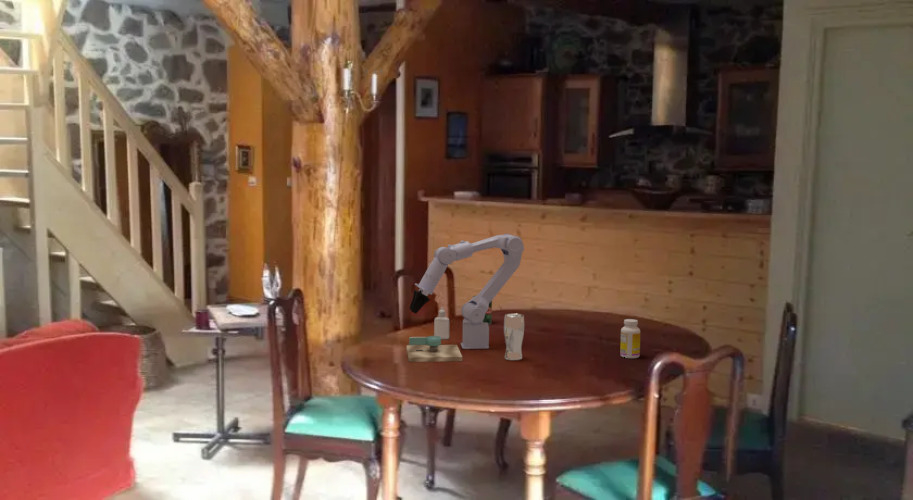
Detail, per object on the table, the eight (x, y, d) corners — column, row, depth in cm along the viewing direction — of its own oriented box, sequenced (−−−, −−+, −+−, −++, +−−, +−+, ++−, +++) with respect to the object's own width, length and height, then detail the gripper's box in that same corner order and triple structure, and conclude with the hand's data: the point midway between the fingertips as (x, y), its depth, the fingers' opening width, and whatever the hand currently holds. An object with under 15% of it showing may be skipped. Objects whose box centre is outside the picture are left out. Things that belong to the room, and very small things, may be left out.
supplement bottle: (640, 355, 306) (642, 319, 304) (638, 359, 300) (639, 322, 298) (621, 353, 308) (622, 317, 307) (618, 357, 302) (619, 321, 300)
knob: (440, 342, 305) (440, 335, 305) (441, 346, 300) (441, 338, 300) (408, 343, 304) (408, 335, 304) (409, 346, 299) (409, 338, 299)
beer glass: (509, 361, 295) (510, 317, 293) (499, 357, 301) (500, 314, 299) (527, 359, 298) (528, 316, 296) (516, 355, 304) (517, 312, 303)
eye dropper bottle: (444, 340, 326) (444, 308, 324) (432, 338, 329) (432, 307, 328) (451, 338, 329) (451, 307, 328) (439, 336, 332) (439, 305, 331)
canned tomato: (473, 320, 363) (474, 294, 362) (492, 321, 362) (492, 295, 361) (471, 324, 355) (471, 298, 354) (490, 325, 354) (491, 298, 353)
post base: (456, 348, 313) (456, 339, 312) (462, 361, 295) (462, 351, 294) (406, 349, 311) (406, 339, 310) (408, 361, 293) (409, 351, 293)
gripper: (420, 271, 316) (401, 304, 315) (423, 273, 301) (404, 307, 301) (437, 280, 316) (418, 313, 316) (441, 283, 302) (421, 317, 301)
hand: (412, 311), depth 308 cm, fingers open, 7 cm apart
